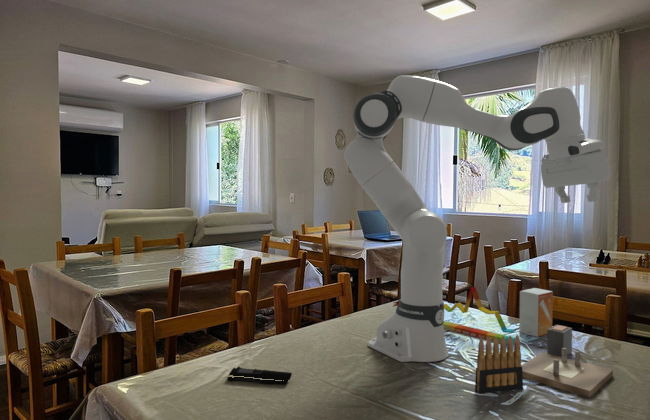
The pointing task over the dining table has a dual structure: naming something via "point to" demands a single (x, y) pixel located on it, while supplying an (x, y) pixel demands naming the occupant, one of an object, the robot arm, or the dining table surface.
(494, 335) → the chart
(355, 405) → the dining table surface
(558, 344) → the plug block
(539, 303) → the small box
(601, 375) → the board
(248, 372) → the electric trimmer
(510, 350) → the ammunition clip
